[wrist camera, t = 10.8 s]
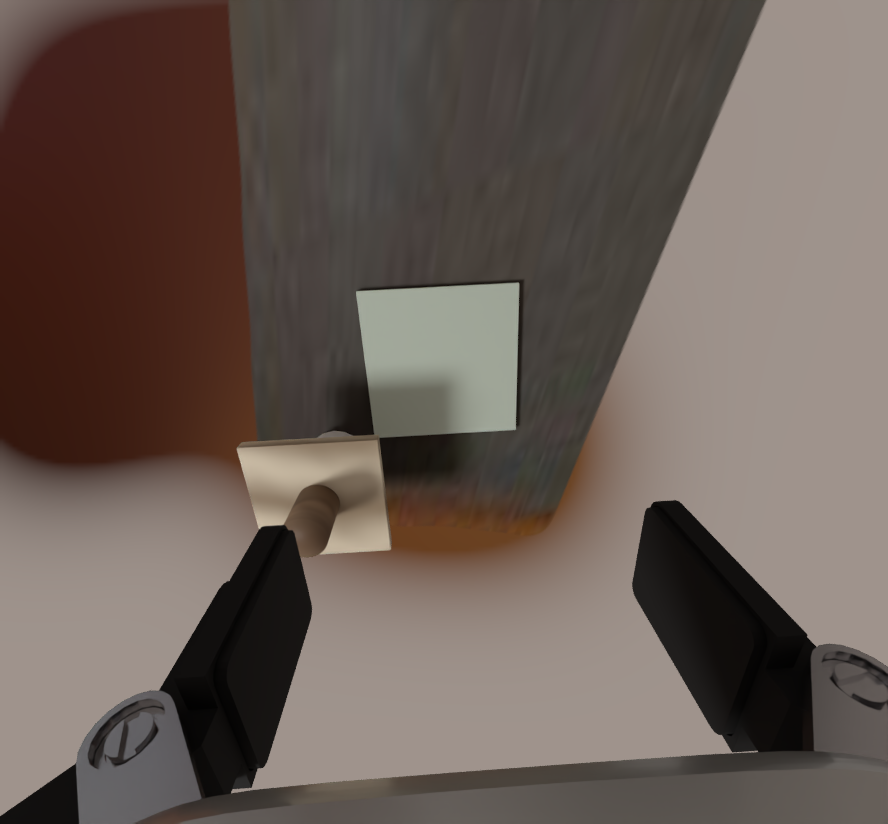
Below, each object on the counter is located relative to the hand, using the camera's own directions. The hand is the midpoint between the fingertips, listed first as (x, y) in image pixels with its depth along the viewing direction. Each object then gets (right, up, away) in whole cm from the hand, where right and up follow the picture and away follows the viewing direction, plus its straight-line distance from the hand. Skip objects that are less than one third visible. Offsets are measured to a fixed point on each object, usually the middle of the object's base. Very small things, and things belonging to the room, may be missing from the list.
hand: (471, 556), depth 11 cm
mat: (-1, +8, +27) cm, 28 cm away
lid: (-11, -3, +24) cm, 27 cm away
